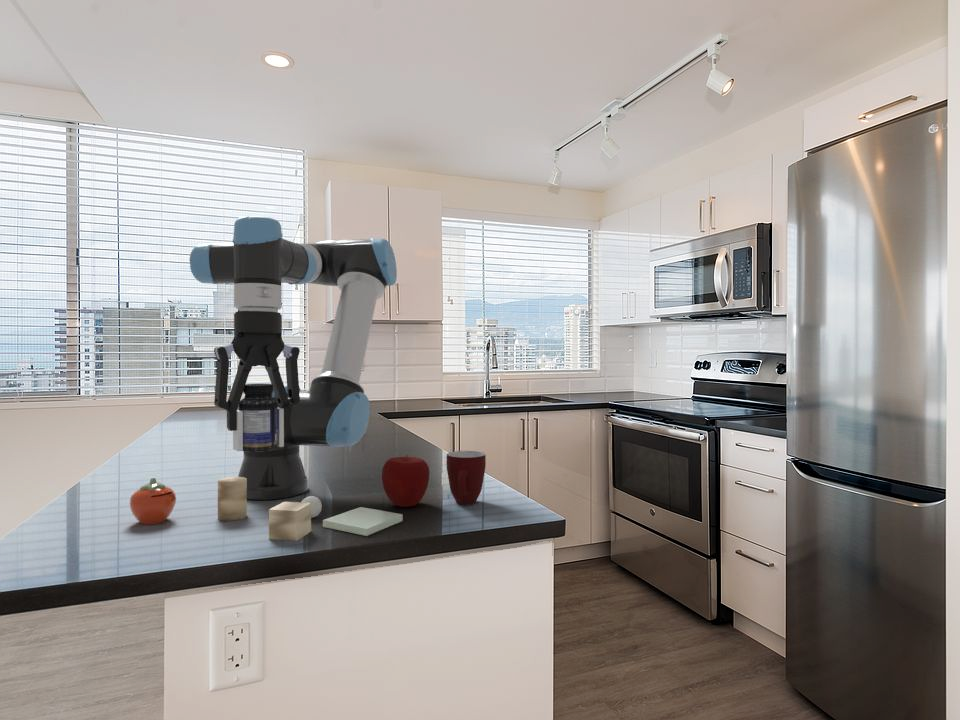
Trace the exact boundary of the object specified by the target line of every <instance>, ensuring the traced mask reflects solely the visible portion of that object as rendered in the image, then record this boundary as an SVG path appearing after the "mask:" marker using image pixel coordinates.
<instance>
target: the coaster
mask: <svg viewBox="0 0 960 720" xmlns="http://www.w3.org/2000/svg"><path fill="white" fill-rule="evenodd" d="M403 517H404V516H403V513H396V512H392V511H385V510H381V509H375V508H369V507H364V506H363V507H362V506H360V507H357V508H354V509H350V510H348V511H345V512H342V513H340V514H337V515H334V516H331V517H327V518H325V519H323V520H322V527H323V528H326V529H331V530H336V531H341V532H347V533H350V534H356V535H359V536H365V537H368V536H370V535H373V534H375V533H377V532H380V531H382V530H384V529H386V528H389V527H392V526H393V525H396V524H399V523H401V522H403Z"/></svg>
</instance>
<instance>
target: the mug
mask: <svg viewBox="0 0 960 720" xmlns="http://www.w3.org/2000/svg"><path fill="white" fill-rule="evenodd" d="M486 460H487V459H486V453H484V452H483V451H477V450H475V451H474V450H457V451H456V450H455V451H451V452H447V453H446V473H447V478H448V484H449V490H450V492H451V494H452V497H453V499H454V501H455V502H456V503H457V504H458V505H462V506H464V505H466V506H468V505H474V504H475V503H476V502H477V500H478V498H479V496H480V495H481V492H482V489H483V484H484V479H485V473H486V464H487V463H486Z"/></svg>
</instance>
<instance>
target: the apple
mask: <svg viewBox="0 0 960 720" xmlns="http://www.w3.org/2000/svg"><path fill="white" fill-rule="evenodd" d="M429 481H430V466H428V463H427V462H426V461H425V460H424V459H423V458H421V457H415V456H408V455H407V454H406V456H396V457H391V458H388V460H386V461H385V463H384V465H383V466H382V470H381V483H382V486H383V490H384V492H385V495H386V497H387V498H388V500H389V501H390V502H391V503H392V504H393V505H395V506H396V507H400V508H401V507H402V508H408V507H414V506H416V505H418V504H419V503H420V501H421V500H422V499H423V497H424V496H425V494H426V491H427V489H428V485H429Z"/></svg>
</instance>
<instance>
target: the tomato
mask: <svg viewBox="0 0 960 720" xmlns="http://www.w3.org/2000/svg"><path fill="white" fill-rule="evenodd" d="M176 502H177V495H176V492H175V491H174V489H172V488H171V487H168V486H167V485H165V484H164V483H162V482H158V481H157V479H156V477H151V478H150V480H149V482H148V483H146V484H143V485H142V486H140V488H139V489H138V490H136V491H134V492H133V493H132V495H130V499H129V508H130V511H131V513H132V515H133V517H134V518H135V519H136V521H137V522H139V523H141V524H142V525H147V526H148V525H157V524H162V523H163V522H165V521H166V520H167V519H168V518H169V516H171V514H172V512H173V510H174V509H175V506H176Z"/></svg>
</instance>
